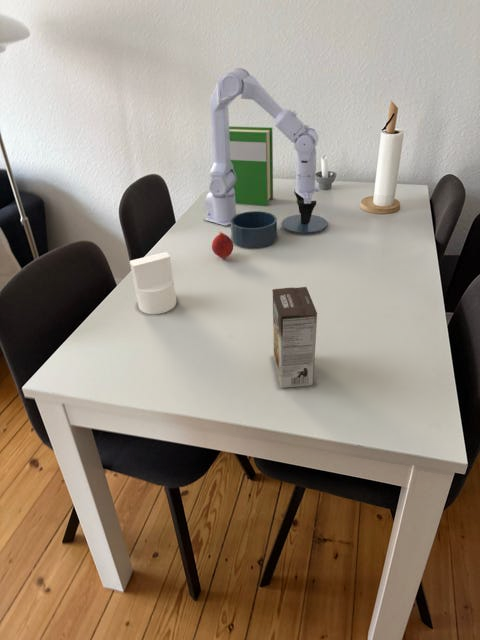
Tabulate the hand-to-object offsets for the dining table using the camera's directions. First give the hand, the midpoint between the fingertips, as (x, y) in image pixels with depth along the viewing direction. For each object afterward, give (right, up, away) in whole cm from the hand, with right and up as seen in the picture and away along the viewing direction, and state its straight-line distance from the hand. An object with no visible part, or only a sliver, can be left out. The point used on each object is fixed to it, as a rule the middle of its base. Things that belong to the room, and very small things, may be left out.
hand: (304, 218), depth 146 cm
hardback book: (-17, +11, +23) cm, 31 cm away
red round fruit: (-24, -14, -14) cm, 32 cm away
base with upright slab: (-40, -28, -32) cm, 58 cm away
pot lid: (0, -2, +1) cm, 2 cm away
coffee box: (-10, -41, -55) cm, 70 cm away
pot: (-15, -7, -4) cm, 18 cm away
